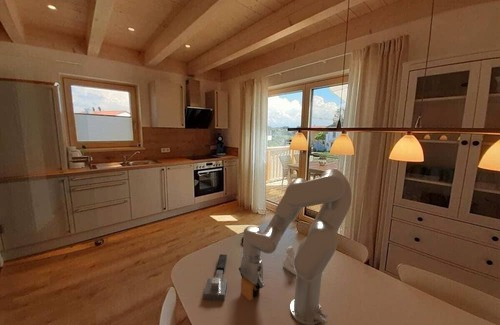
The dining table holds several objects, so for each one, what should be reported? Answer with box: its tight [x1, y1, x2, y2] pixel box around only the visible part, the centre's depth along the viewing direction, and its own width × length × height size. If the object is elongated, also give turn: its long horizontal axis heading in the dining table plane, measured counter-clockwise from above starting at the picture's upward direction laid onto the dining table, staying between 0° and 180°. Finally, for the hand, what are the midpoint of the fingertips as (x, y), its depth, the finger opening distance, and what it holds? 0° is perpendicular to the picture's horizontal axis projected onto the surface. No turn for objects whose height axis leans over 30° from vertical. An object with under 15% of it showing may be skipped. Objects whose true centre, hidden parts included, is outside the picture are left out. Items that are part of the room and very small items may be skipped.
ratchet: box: [202, 253, 228, 302], centre depth 105 cm, size 29×9×6 cm, turn 179°
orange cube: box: [240, 277, 261, 302], centre depth 95 cm, size 6×6×7 cm
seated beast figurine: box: [282, 245, 296, 276], centre depth 112 cm, size 10×9×12 cm
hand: (250, 291), depth 95 cm, fingers closed on orange cube, 6 cm apart
